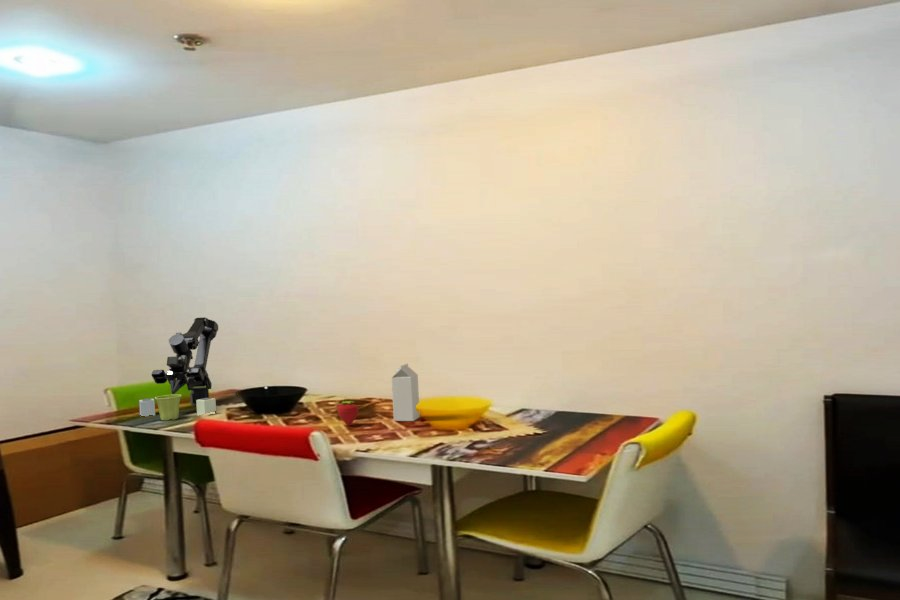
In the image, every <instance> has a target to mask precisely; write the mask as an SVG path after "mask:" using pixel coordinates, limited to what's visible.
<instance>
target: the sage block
mask: <svg viewBox="0 0 900 600" xmlns="http://www.w3.org/2000/svg"><path fill="white" fill-rule="evenodd" d="M216 403H217V401H216V398H212V397H209V398H203V399H199V400H196V405H195V406H196V416H199V415H202V414H206V413H210V412H215V411H216V412H217V404H216ZM199 417H200V416H199Z"/></svg>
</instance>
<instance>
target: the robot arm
mask: <svg viewBox="0 0 900 600" xmlns="http://www.w3.org/2000/svg"><path fill="white" fill-rule="evenodd" d="M218 331H219V324H218V323H217V321H215V320H212V319H209V318H208V317H204V316H203V317H196V318H194V320H193V323H192V324H191V326H190V328H189V329H188V330H187V332H185V333H183V334H182V332H175V334H174V335H172V336H171V337H170V338H168V344H169V345H170V348H171V350H172V352H173V353H174V354H176V355H175V356H167V361H166V366H168V371H167V373H166V371H165V370H164V369H153V371H152V373H151V377H152V379H153V381H154V382H155V384H157V385H158V384H162V385H163V384H165V383H167V382H168V384H169V385H170V389H171V390H170V391H171V395H174V394H176V393H177V392H178V391H179V390H181V388H182V387H184V386H185V385H186V386H187V391H190V392H191V393H190V394H189V397H190V398H189V399H190V405H193V406H197V405H196V400H199V399H203V398H210V397H209V396H210V395H209V390H212V386H213V385H212V382H211V379H210V377H209V374H208V371H207V370H206V369H207V364H208V358H209V354H210V348H211V344H212V342H213V340H214V339H215V338H216V337H217V332H218ZM196 349H197V351H196V356H195V361H194V365H193V366H190V363H191V361H192V360H193V359H194V357H193V350H196Z"/></svg>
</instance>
